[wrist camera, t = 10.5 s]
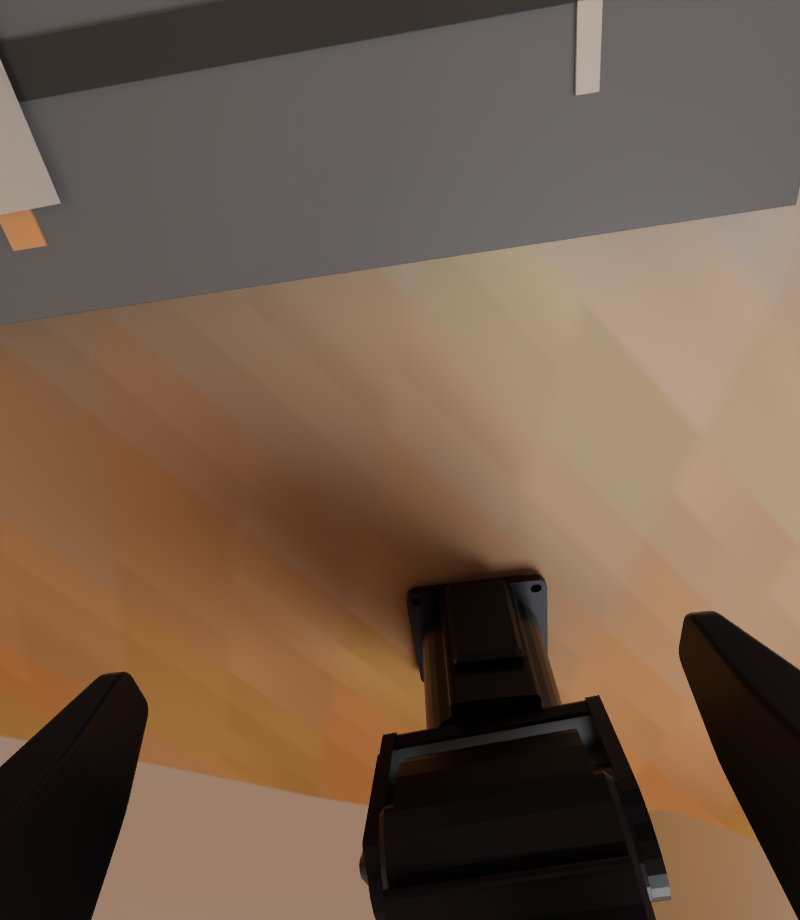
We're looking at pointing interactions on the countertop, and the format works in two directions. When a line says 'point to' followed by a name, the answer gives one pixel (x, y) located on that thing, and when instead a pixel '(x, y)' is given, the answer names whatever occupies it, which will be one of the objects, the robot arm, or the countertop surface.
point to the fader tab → (20, 159)
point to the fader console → (377, 133)
